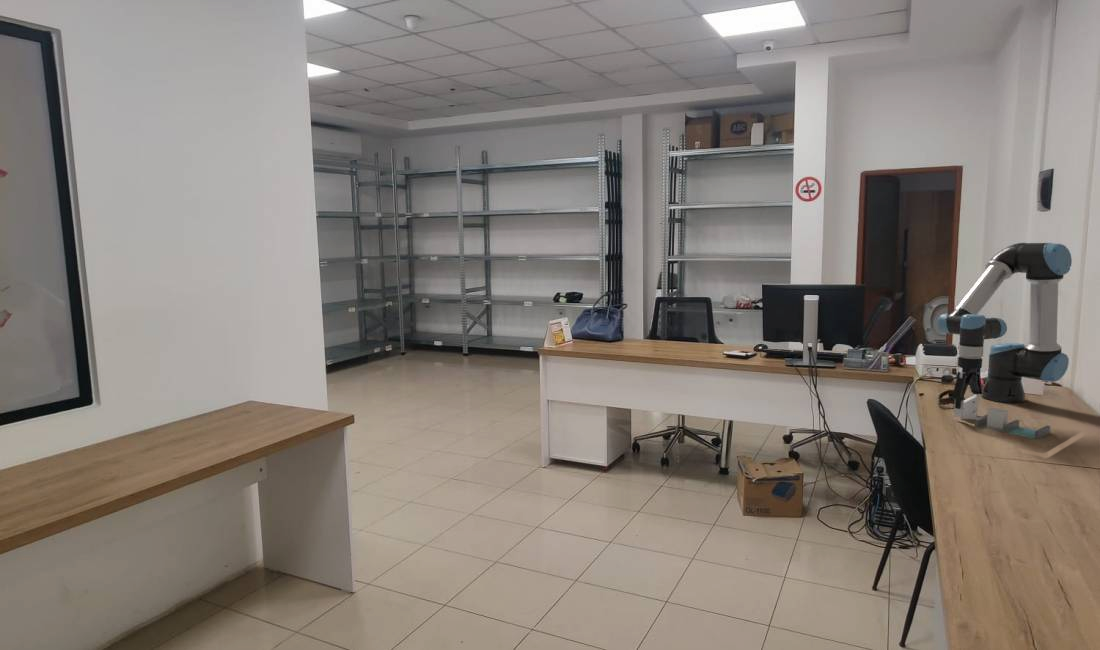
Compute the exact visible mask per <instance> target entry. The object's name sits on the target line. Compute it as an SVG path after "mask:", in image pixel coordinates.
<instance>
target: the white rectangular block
mask: <svg viewBox="0 0 1100 650" xmlns="http://www.w3.org/2000/svg"><path fill="white" fill-rule="evenodd" d="M987 414H988V415H987ZM987 414H986V415H987V426H990V427H995V428H1000V429H1004V425H1006V424H1008V416H1009V410H1005V409H1000V408H996V407H990V408H988V409H987Z"/></svg>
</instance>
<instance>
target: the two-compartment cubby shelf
mask: <svg viewBox="0 0 1100 650" xmlns="http://www.w3.org/2000/svg"><path fill="white" fill-rule="evenodd" d="M987 415H988V413H986V414H984V415H982V416H980V417H977V419H974V427H975V428H980V429H986V430H991V431H996V432H1001V433H1005V434H1009V435H1013V436H1014V435H1015V436H1020V437H1024V438H1025V437H1026V438H1030V439H1035V440H1039V439H1042V438H1043V437H1045V436H1047V435H1049V434H1051V425H1047V424H1046V425H1045V426H1043V427H1041V428H1039V429H1031V428H1026V427H1022V426H1020V422H1021V421H1020V420H1019V419H1015V420H1013V421H1011V422H1009V423H1008V422H1007V424H1006V425H1004V429H1000V428H995V427H990V426H987Z"/></svg>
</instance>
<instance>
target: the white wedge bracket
mask: <svg viewBox="0 0 1100 650" xmlns="http://www.w3.org/2000/svg"><path fill="white" fill-rule="evenodd" d="M965 399H966V400H964V406H963V418H959V417H956V418H957V419H959V420H975V419H978V417H977V414H978V412H977V406H978V407H979V402H978V395H974V396H972V397H970V396H969V397H967V398H965Z"/></svg>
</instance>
